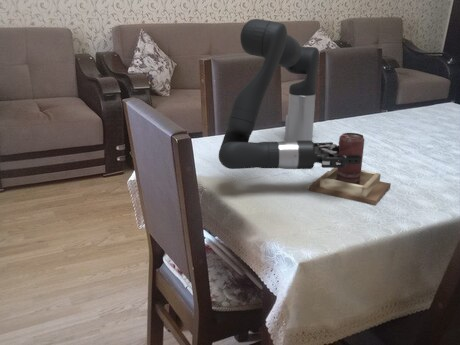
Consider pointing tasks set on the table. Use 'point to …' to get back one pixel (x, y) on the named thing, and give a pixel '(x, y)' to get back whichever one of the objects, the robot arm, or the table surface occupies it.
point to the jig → (352, 187)
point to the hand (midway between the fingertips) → (355, 154)
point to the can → (350, 146)
